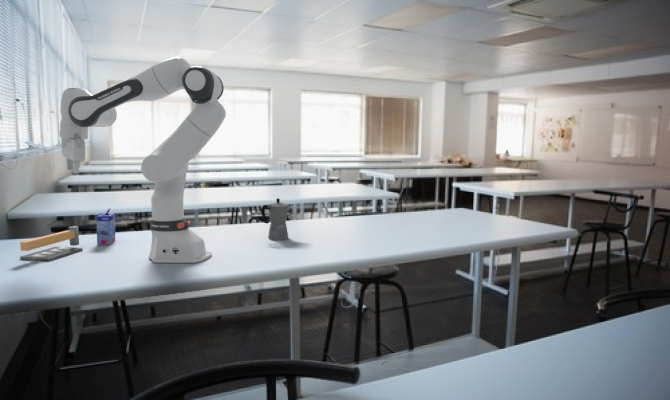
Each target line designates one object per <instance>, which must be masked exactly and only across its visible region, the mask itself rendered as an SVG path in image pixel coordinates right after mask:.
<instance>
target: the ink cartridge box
mask: <svg viewBox="0 0 670 400" xmlns="http://www.w3.org/2000/svg"><path fill="white" fill-rule="evenodd" d="M110 211H111V208H108V209H107V211H106V212H102V213H100V214H98V215H97V216H96V217H95V218H96V245H97V246H111V245H112V244H113V243H114V242H116V213H115V212H110Z"/></svg>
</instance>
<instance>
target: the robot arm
mask: <svg viewBox="0 0 670 400" xmlns="http://www.w3.org/2000/svg"><path fill="white" fill-rule="evenodd" d="M183 89H184V90H185V92H186V94H187V95H188V96H189V98H190V99H191V101H192V103H194V104H195V105H194V107H193V109H192V110H191V112H189V114H188V115H187V116H186V117H185V118H184V119H183V121H182V122H181V123H180V125H178V127H177V128H176V129H175V130H174V132H173V133H172V134H170V135H169V136H168V137H167V138H166V139H165V140H164V141H163V142H162V143H161V144H159V145H158V146H157V147H156V148H155V149H154V150H153V151H152V152H151V153H150V154H149V155H148V156H146V157H145V158H144V159H143V160H142V162H141V166H140V169H141V173H142V175H143V176H144V178H145V179H146V180H147V181H149V182H152V183H154V184H155V185H154V190H153V194H152V196H151V197H150V198H151V199H150V200H151V202H150V204H151V220H150V231H151V244H150V251H149V256H148V259H150V260H151V261H152V263H159V264H160V263H162V264H163V263H165V264H167V263H169V264H171V263H173V264H176V263H177V264H186V263H187V264H196V263H200V262H203V261H205V260H207V259H209V258H210V257H212V255H213V253H212V251H210V250H207V249H206V244H205V240H204V239H203V237H200V236H199V235H198V234H197V233H195V232H194V231H193V230H191V229H190V228H189V227H190V226H189V225H190V224H191V220H188V221H187V220H186V218H185V217H184V213H185V212H184V211H185V210H184V193H185V186H186V182H187V181H186V179H187V173H188V169H189V162H190V161H191V160H192V159H193V158H194V157H195V156H196V155H198V154H199V153H200V152H201V150H203V148H204V147H206V144H207V143H209V141H210V140H211V139H212V138H213V137H214V135H215V134H216V132H218V130H219V128H220V127H221V125H222V124H223V122H224V120H225V118H226V115H227V113H226V110H225V109H226V108H225V107H224V106H223V104H222V103H220V102H219V99H220V98H221V97H222V96H223V94H224V91H225V90H224V89H225V88H224V83H223V81H222V79H221V78H220V76H218V75H217V74H216V73H215V72H214V71H212V70H210V69H209V68H206V67H204V66H201V65H195V66H194V65H193V66H191V65H190V63H189V62H188V61H187V60H186V59H184V58H183V57H180V56H174V57H171V58H168V59H165V60H162V61H160V62H157V63H155V64H154V65H151V66H150V67H148V68H146V69H145V70H143V71H141V72H139V73H137V74H136V75H134V76H132V77H130V78H128V79H126V80H124V81H122V82H119V83H117V84H115V85H113V86H111V87H108V88H106V89H104V90H102V91H99V92H97V93H94V94H92V93H91V92H90V91H89V90H87V89H86V88H83V87H82V88H81V87H69V88H66V89H64V90H63V92H62V94H61V97H60V98H61V99H60V109H59V111H60V115H61V119H60V121H59V122H60V123H59V138H61V139H60V141H61V142H60V143H61V154H62V156H63V157H64V158H65V159H66V161H65V162H66V170H68V171H72V174H79V173H80V168H81V164H82V163H81V162H83V163H84V162H85V160H86V141H85V140H89V127H93V128H107V127H110V126H112V125H114V123H115V122H116V121H117V116H118V115H117V109H116V108H117V107H120V106H121V105H124V104H126V103H130V102H135V101H136V102H138V101H142V102H143V101H144V102H145V101H146V102H154V101H157V100H162V99H165V98H166V97H169V96H170V95H172V94H174V93H176V92H178V91H181V90H183Z"/></svg>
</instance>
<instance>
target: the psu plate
mask: <svg viewBox="0 0 670 400" xmlns="http://www.w3.org/2000/svg"><path fill="white" fill-rule="evenodd" d="M83 251H84V250H83V248H82V247H70V246H69V247H67V246H53V247H49V248H46V249H41V250H39V251H35V252H31V253H29V254H25V255H20V256H19V259H20V260H23V261H24V260H25V261H38V262H52V261H55V260H57V259H58V260H59V259H61V258H65V257H68V256H70V255H74V254H77V253H79V252H83Z"/></svg>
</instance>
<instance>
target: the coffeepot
mask: <svg viewBox="0 0 670 400" xmlns="http://www.w3.org/2000/svg"><path fill="white" fill-rule="evenodd" d="M275 201H276V202H274V203H270V204H264V205H262V207H261V208H260V214H261V216H262V219H263V223H264V224H269V223H270V224H269V230H268V235H267V237H268V239H269V240H270V241H284V240H287V239H289V233H288V227H287V223H286V221H287V220H288V212H289V208H290V207H291V206H292V205H291V204H289V203H283V202H280V201H281V198H276V200H275ZM266 210H268V215H269V220H267V216H266Z"/></svg>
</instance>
